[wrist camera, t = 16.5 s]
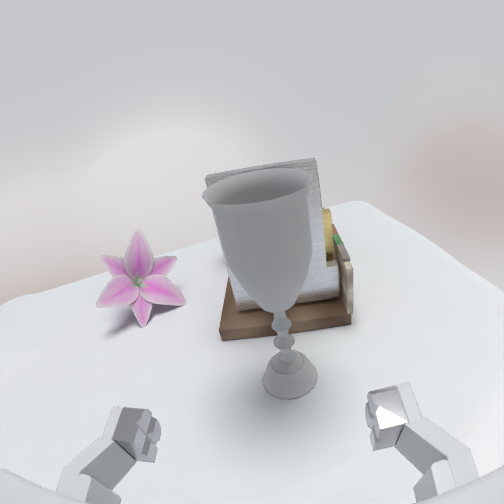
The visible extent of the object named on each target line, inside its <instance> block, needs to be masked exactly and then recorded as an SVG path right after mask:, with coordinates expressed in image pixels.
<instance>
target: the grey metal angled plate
mask: <svg viewBox="0 0 504 504" xmlns="http://www.w3.org/2000/svg"><path fill="white" fill-rule="evenodd" d="M273 168H289V169H298V170H302V171H305V172H308V173H309V174H310V175H311V176H312V183H311V185H310V188H309V191H308V194H307V204H308V212H309V220H310V229H311V238H312V257H311V261H310V265H309V269H308V272H307V276H306V279H305V281H304V284H303V286H302V288H301V290H300V293H299V295H298V297H297V299H296V301H295V303H294V304H296V303H303V302H310V301H317V300H323V299H330V298H336V297H339V274H338V264H337V262H336V260H332V261H326V251H325V239H324V227H323V217H322V206H321V197H320V188H319V179H318V171H317V163H316V160H315V158H309V159H301V160H294V161H288V162H280V163H274V164H267V165H261V166H255V167H249V168H243V169H237V170H231V171H226V172H220V173H215V174H210V175H207V176H206V177H205V181H206V185H207V188H208V187H209V186H211V185H213V184H214V183H216V182H218V181H220V180H223V179H225V178H228V177H231V176H234V175H238V174H241V173H246V172H251V171H256V170H263V169H273ZM213 215H214V219H215V223H216V226H217V222H216V218H215V214H214V211H213ZM217 231H218V235H219V239H220V243H221V247H222V251H223V255H224V259H225V263H226V267H227V271H228V275H229V278H230V282H231V286H232V290H233V294H234V298H235V301H236V305H237V309H238V311H241V310H249V309H258V308H261V307H260V306H259V305H258V304H257V303H256V302H255V301H254V300H253V298H252V297H251V296H250V295H249V294H248V293H247V292H246V291H245V290H244V288H243V287H242V286H241V284H240V283H239V281H238V280H237V278H236V277H235V275H234V274H233V272H232V271H231V269H230V268H229V266H228V265H227V262H226V258H225V254H224V250H223V246H222V242H221V238H220V234H219V230H218V226H217Z"/></svg>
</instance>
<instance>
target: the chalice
mask: <svg viewBox="0 0 504 504" xmlns="http://www.w3.org/2000/svg"><path fill="white" fill-rule="evenodd" d="M311 183H312V176H311V175H310V174H309V173H308V172H305V171H302V170H298V169H289V168H273V169H263V170H256V171H251V172H246V173H241V174H238V175H234V176H231V177H228V178H225V179H223V180H220V181H218V182H216V183H214V184H213V185H211V186H209V187H208V188H207V189H206V190H205V191H204V192H203V195H202V198H203V199H204V200H205V201H206V202H207V203H208V205H209V206H210V207H211V208H212V210H213V211H214V214H215V218H216V222H217V226H218V230H219V234H220V238H221V242H222V246H223V250H224V254H225V258H226V262H227V265H228V266H229V268H230V269H231V271H232V272H233V274H234V275H235V277H236V278H237V280H238V281H239V283H240V284H241V286H242V287H243V288H244V290H245V291H246V292H247V293H248V294H249V295H250V296H251V297H252V298H253V300H254V301H255V302H256V303H257V304H258V305H259V306H260V307H261V308H262V309H263V310H265V311H267V312H271V313H274V321H273V322H272V325H271V326H272V328H273V330H275V331H276V332H277V334H278V335H277V337H276V338H275V339H274V345H275V346H276V347H277V348H279V349H280V351H281V352H279V353H277V354H276V355H275V356H273V357H272V358H271V360H270V361H269V363H268V366H267V368H266V372H265V373H264V377H263V383H264V387H265V388H266V390H267V392H269V393H270V394H271V395H273V396H275V397H278V398H281V399H294V398H298V397H301V396H303V395H305V394H307V393H308V392H309V391H310V390H311V389H312V388H313V387H314V385H315V384H316V382H317V372H316V368H315V367H314V366H313V365H312V364H311V362H310V361H309V360H308V359H307V357H306V356H305V355H304V354H302V353H300V352H298V351H295V350H291V346H293V344H294V343H295V339H294V337H293V336H292V335H289V333H288V330H289V328H290V327H291V321H290V320H289V319H288V318H287V316H286V314H285V311H286V310H288V309H289V308H291V307H292V306H293V305H294V303H295V301H296V299H297V297H298V295H299V293H300V290H301V288H302V286H303V284H304V281H305V279H306V276H307V272H308V269H309V265H310V261H311V257H312V238H311V229H310V220H309V212H308V204H307V194H308V191H309V188H310V185H311Z"/></svg>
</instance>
